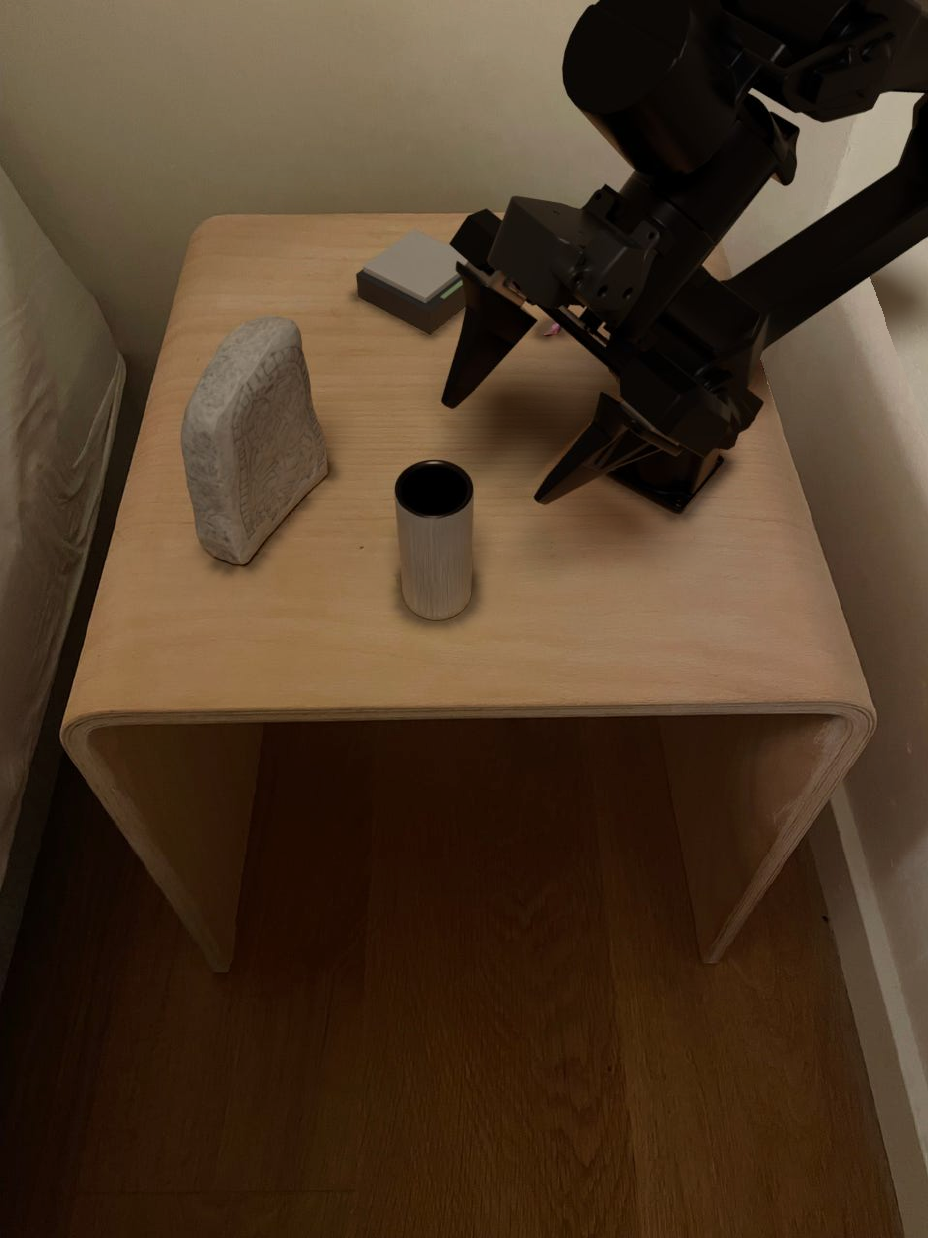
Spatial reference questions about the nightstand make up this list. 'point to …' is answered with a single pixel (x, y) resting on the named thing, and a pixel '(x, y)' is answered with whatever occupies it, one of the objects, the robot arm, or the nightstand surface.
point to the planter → (435, 537)
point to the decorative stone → (251, 438)
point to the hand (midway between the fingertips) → (490, 452)
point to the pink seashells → (554, 329)
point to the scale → (415, 281)
